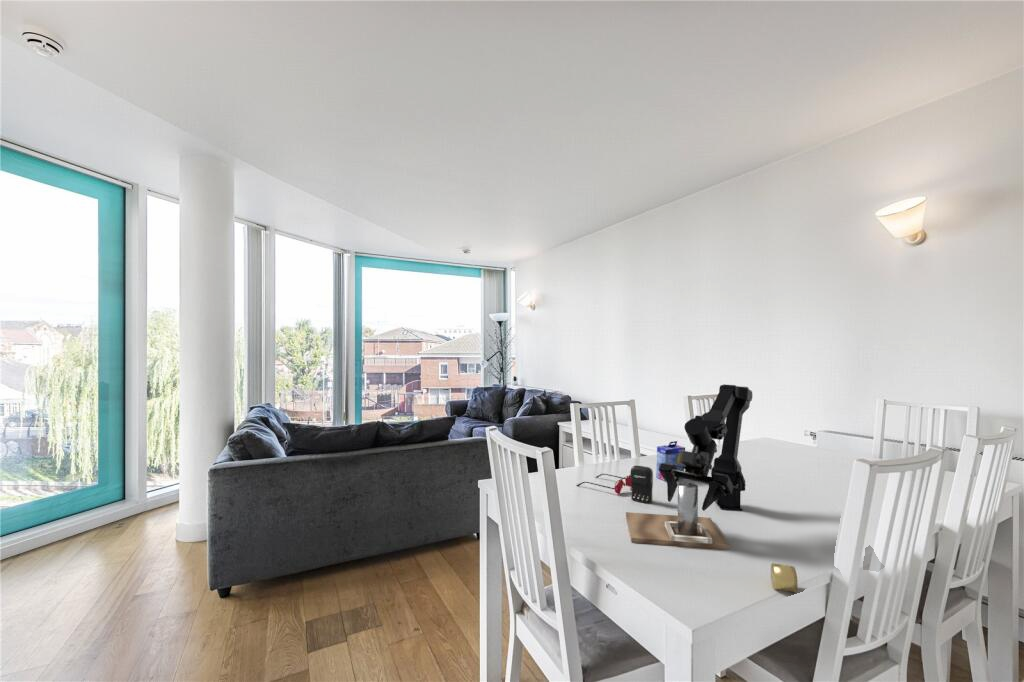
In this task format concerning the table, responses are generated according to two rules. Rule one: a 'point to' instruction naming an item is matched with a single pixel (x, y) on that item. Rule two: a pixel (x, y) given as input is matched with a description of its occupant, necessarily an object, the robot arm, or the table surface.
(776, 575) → the shiny gold nugget
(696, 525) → the grey cylinder
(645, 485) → the battery charger
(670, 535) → the board
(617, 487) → the glasses
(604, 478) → the table surface
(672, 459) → the ink cartridge box
